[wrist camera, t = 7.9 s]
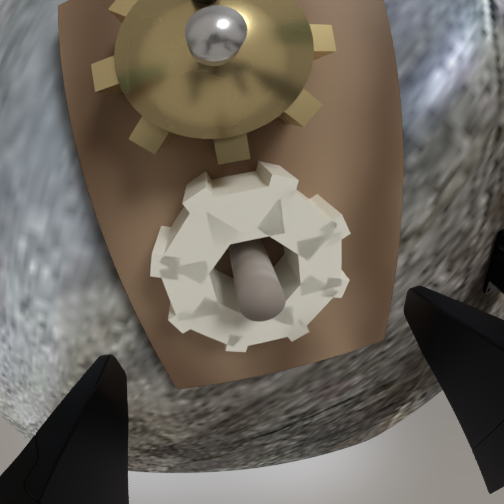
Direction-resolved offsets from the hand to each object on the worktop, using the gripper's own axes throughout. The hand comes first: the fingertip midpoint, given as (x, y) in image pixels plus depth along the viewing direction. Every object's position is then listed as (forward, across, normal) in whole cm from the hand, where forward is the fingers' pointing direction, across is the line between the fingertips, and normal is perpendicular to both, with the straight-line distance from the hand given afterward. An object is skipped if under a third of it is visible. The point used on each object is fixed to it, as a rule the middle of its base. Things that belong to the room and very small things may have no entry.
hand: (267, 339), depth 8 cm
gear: (+6, 0, -8) cm, 10 cm away
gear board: (+7, -1, -2) cm, 7 cm away
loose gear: (+6, 0, 0) cm, 6 cm away
